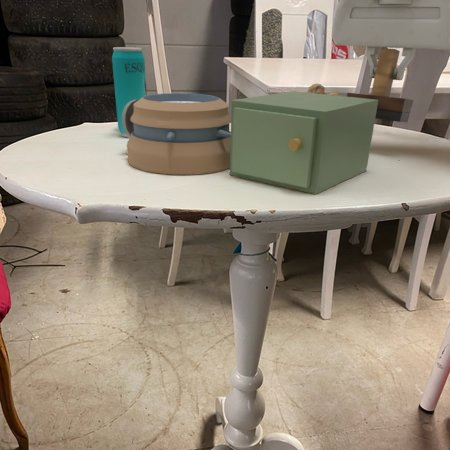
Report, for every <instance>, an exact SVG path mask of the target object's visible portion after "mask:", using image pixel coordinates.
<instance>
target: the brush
mask: <svg viewBox="0 0 450 450" xmlns="http://www.w3.org/2000/svg"><path fill="white" fill-rule="evenodd" d="M400 53H401V51H400V50H398V49H397V48H385V47H380V50H379V54H378V59H377V63H378V64H377V69H376V74H375V78H373V83H372V88H371V93H370V94H367V93H366V94H365V93H364V94H363V93H357V92H356V93H355V92H347V93H346V97H355V98H365V99H375V100H378V105H377V111H376V117H375V120H381V121H382V120H383V121H391V122H397V123H408V122H409V118H410V114H411V112H412V108H413V103H414V99H410V98H403V97H394V96H391V91H392V88H393V83H394V80H391V75H392V70H393V68H397V67H398V60H399V57H400Z"/></svg>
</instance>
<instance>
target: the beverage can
mask: <svg viewBox="0 0 450 450" xmlns="http://www.w3.org/2000/svg"><path fill="white" fill-rule="evenodd" d="M112 50H113V53H112V55H111V62H112V73H113V85H114V97H115V108H116V109H115V110H116V119H117V129H118V130H119V133H120V135H121V136H122V137H123V138H128V139H129V138H130V137H131V136H129V135H128V134H127V133H126V132H125V130H124V128H123V125H122V112H123V109H124V107H125V106H126V105H127V103H128V102H130V101H132V100H140V99H141V98H142V97H144V96H147V95H148V93H147V77H146V76H147V75H146V61H145V60H146V59H145V58H146V57H145V56H144V54H143V48H142V47H132V46H131V47H130V46H129V47H128V46H115V47H114V46H113V47H112Z"/></svg>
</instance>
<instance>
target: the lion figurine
mask: <svg viewBox="0 0 450 450" xmlns="http://www.w3.org/2000/svg"><path fill="white" fill-rule="evenodd" d="M325 90H326V87H325V86H324V85H322V84H321V83H313V84H312V85H310V86H309V87H308V88H307V90H306V93H315V94H325V95H335V96H341V95H340V94H339V93H337V92H334V91H333V92H329V93H327V94H326V93H325Z"/></svg>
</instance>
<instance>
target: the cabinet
mask: <svg viewBox="0 0 450 450" xmlns="http://www.w3.org/2000/svg"><path fill="white" fill-rule="evenodd" d="M377 105H378V100H375V99H365V98H355V97H347V96H346V95H345V96H344V95H340V96H335V95H327V94H326V93H325V94H315V93H307V91H306V92H304V91H285V92H278V93H272V94H265V95H258V96H257V95H256V96H250V97H243V98H236V99H232V100H231V109H230V111H231V112H230V116H231V123H230V132H231V143H230V168H229V175H230V176H233V177H237V178H242V179H247V180H250V181H254V182H259V183H264V184H267V185H272V186H277V187H281V188H286V189H291V190H295V191H299V192H302V193H303V192H304V193H307V194H312V195H318V194H320V193H322V192H324V191H327V190H328V189H330V188H332V187H335V186H338V185H339V184H342V183H343V182H345V181H348V180H349V179H352V178H353V177H356V176H358V175H360V174H362V173H365V172H366V171H367V168H368V164H369V157H370V151H371V145H372V139H373V133H374V127H375V121H376V119H375V117H376V111H377Z"/></svg>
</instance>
